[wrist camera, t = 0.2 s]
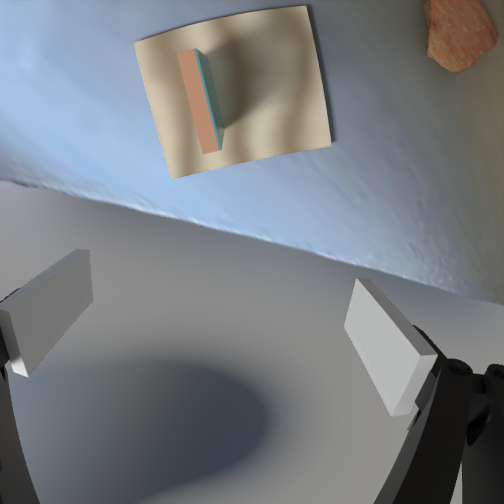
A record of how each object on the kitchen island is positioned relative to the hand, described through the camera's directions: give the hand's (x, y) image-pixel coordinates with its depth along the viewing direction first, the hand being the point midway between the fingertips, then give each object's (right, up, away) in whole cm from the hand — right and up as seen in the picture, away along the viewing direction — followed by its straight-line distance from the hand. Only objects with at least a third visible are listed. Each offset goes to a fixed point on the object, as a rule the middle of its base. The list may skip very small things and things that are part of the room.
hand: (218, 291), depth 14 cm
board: (0, +21, +18) cm, 28 cm away
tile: (-3, +17, +13) cm, 21 cm away
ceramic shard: (+27, +34, +13) cm, 45 cm away
